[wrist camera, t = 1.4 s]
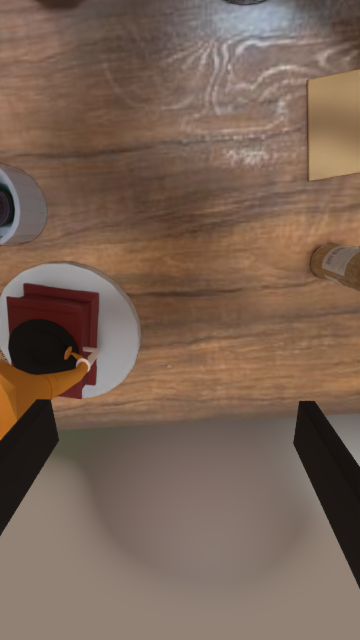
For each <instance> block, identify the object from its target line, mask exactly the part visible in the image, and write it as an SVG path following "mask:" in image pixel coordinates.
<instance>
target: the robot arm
mask: <svg viewBox="0 0 360 640" xmlns="http://www.w3.org/2000/svg"><path fill="white" fill-rule="evenodd" d="M226 1H229V2H233V3H239V4H251V3H257V2H262V1H265V0H226ZM58 441H59V438H58V433H57V428H56V423H55V418H54V414H53V409H52V404H51V399H36V400H35V402H34V403H33V404H32V405H31V406H30V407H29V408H28V409H27V411H26V412H25V413H24V414H23V415H22V416H21V417H20V418H19V420H18V421H17V422H16V423H15V424H14V425H13V426H12V428H11V429H10V430H9V431H8V432H7V433H6V434H5V435H4V437H3V438H2V439H1V440H0V535H1V534H2V532H3V531H4V529H5V527H6V526H7V524H8V522H9V521H10V519H11V518H12V516H13V514H14V513H15V511H16V509H17V508H18V506H19V505H20V503H21V501H22V500H23V498H24V496H25V495H26V493H27V492H28V490H29V488H30V487H31V485H32V483H33V482H34V480H35V479H36V477H37V475H38V474H39V472H40V470H41V469H42V467H43V466H44V464H45V462H46V460H47V459H48V457H49V456H50V454H51V453H52V451H53V449H54V448H55V446H56V444H57V443H58ZM293 444H294V446H295V448H296V451H297V452H298V455H299V457H300V459H301V462H302V464H303V466H304V468H305V470H306V472H307V475H308V477H309V479H310V481H311V483H312V486H313V488H314V490H315V492H316V494H317V496H318V499H319V501H320V503H321V505H322V507H323V510H324V512H325V514H326V516H327V518H328V520H329V523H330V525H331V527H332V529H333V531H334V534H335V536H336V538H337V540H338V542H339V545H340V547H341V549H342V551H343V553H344V555H345V558H346V560H347V561H348V564H349V566H350V568H351V571H352V573H353V575H354V577H355V579H356V582H357V584H358V586H359V588H360V467H359V465H358V464H357V462H356V461H355V459H354V458H353V456H352V455H351V453H350V452H349V451H348V449H347V448H346V446H345V445H344V443H343V442H342V440H341V439H340V437H339V436H338V435H337V433H336V432H335V430H334V429H333V427H332V426H331V424H330V423H329V421H328V420H327V419H326V417H325V416H324V414H323V413H322V411H321V410H320V408H319V407H318V405H317V404H316V402H315V401H299V407H298V414H297V421H296V428H295V435H294V442H293Z"/></svg>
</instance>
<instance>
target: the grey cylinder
mask: <svg viewBox="0 0 360 640" xmlns="http://www.w3.org/2000/svg"><path fill="white" fill-rule="evenodd" d="M0 183H4V184H7V185H8V187H9V189H10V191H11V194H12V196H13V200H14V206H15V216H14V222H13V224H12V226H11V227H5V228H0V246H7V245H16V244H23V243H27V242H30V241H32V240H34V239H35V238H36V237H37V236H38V235H39V234H40V233H41V232H42V230H43V228H44V226H45V224H46V219H47V205H46V201H45V198H44V195H43V193H42V191H41V189H40V187H39V186H38V185H37V183H36V182H35V181H34V180H33V179H32V178H31V177H30V176H29V175H28V174H26V173H25V172H23V171H21V170H20V169H17V168H14V167H11V166H8V165H5V164H2V163H0Z"/></svg>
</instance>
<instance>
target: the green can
mask: <svg viewBox="0 0 360 640" xmlns="http://www.w3.org/2000/svg"><path fill="white" fill-rule="evenodd" d="M14 216H15V206H14V200H13V196H12V194H11V191H10V189H9V187H8V185H7V184H4V183H0V228H5V227H11V226H12V224H13V222H14Z"/></svg>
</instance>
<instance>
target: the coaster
mask: <svg viewBox="0 0 360 640" xmlns="http://www.w3.org/2000/svg"><path fill="white" fill-rule="evenodd" d="M307 136H308V182H310V181H316V180H321V179H327V178H333V177H338V176H344V175H350V174H355V173H360V69H358V70H353V71H348V72H343V73H338V74H334V75H329V76H324V77H319V78H315V79H310V80H308V81H307Z"/></svg>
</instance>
